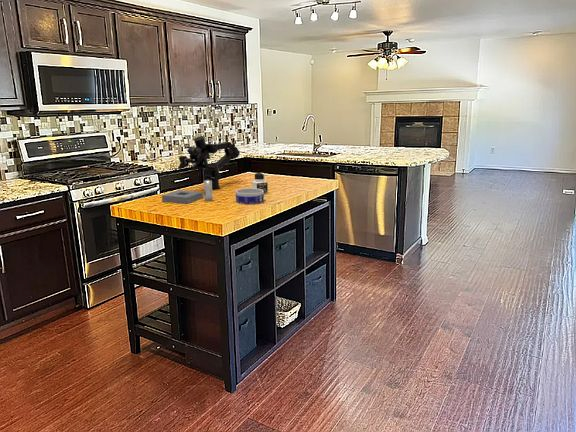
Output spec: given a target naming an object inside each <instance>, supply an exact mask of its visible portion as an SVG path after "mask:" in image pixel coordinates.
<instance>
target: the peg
mask: <svg viewBox="0 0 576 432" xmlns="http://www.w3.org/2000/svg"><path fill="white" fill-rule="evenodd" d="M203 199H204V202H213V200H214V198H213V189H212V180H208V179H205V180H203Z"/></svg>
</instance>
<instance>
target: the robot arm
mask: <svg viewBox="0 0 576 432" xmlns="http://www.w3.org/2000/svg"><path fill="white" fill-rule="evenodd" d="M193 141H194V142H193V143H194V144H195V146H189V147H188V148H187V150H186V151H187V153H188V154H189V158H188V156H187V155H180V156H179V157H178V159H179V163H180V164H179V165H178V170H181V169H185V168H187V167H188V166H189V165H190V164H192V167H191V171H197V170H203V175H204V178H205V180H212V190H220V189H221V188H220V180H221V177H222V175H221V174H220V170H221V169H222V168H223V167H225V166H226V165H227V164H228V163H229V162H230V161H232V160H234V159H237V158H239V156H240V150H239V148H238V147H237V146H235V145H234V144H233V143H232V142H231V141H223V142H218V143H206V141H205V136H204V135H200V136H197V137H194V138H193ZM221 150H223V151H224V155H223V156H222V157H220V159H218V160H217V161H216V162H215V163H214V164H213V163H209V162H208V160H210V159H211V157H210V156H211V155H210V154H212V155H214V154H216V153H217V152H218V151H221Z"/></svg>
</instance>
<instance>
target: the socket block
mask: <svg viewBox="0 0 576 432" xmlns="http://www.w3.org/2000/svg"><path fill="white" fill-rule="evenodd" d="M201 199H204V191H195V190H186V189H185V190H183V189H182V190H181V189H178V190H174V191H171V192H168V193H165V194H163V195H161V201H162V203H174V204H184V205H185V204H186V205H189V204H191V203H193V202H196V201H198V200H201Z"/></svg>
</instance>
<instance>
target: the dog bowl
mask: <svg viewBox="0 0 576 432" xmlns="http://www.w3.org/2000/svg"><path fill="white" fill-rule="evenodd" d="M264 196H265V194H264V191H263V190H262V189H256V188H252V187H249V188H248V187H247V188H239V189H236V190H235V203H237V202H238V203H237V204H240V203H244V204H243V205H255V204H254V203H258V204H261V203H260V202H262V203H263V202H264V200H265V199H264Z"/></svg>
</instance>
